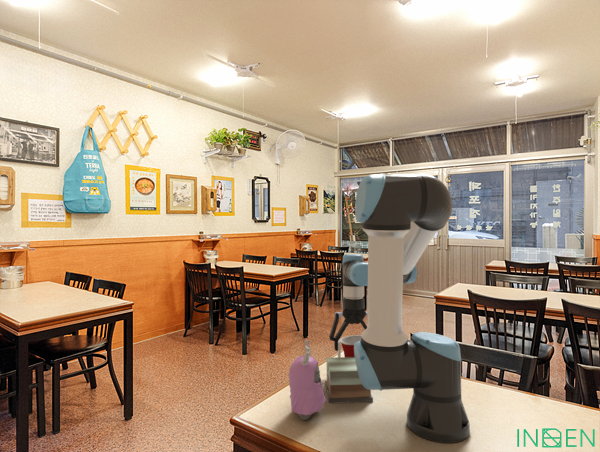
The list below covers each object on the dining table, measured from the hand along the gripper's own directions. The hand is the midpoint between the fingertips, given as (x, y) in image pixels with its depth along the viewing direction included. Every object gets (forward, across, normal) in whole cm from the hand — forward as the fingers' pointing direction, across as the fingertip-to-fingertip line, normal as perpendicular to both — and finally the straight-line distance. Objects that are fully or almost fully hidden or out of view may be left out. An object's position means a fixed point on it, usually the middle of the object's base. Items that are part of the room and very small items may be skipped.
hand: (354, 359), depth 131 cm
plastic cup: (+5, 0, 0) cm, 5 cm away
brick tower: (+5, +5, +16) cm, 17 cm away
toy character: (+5, +18, +29) cm, 34 cm away
